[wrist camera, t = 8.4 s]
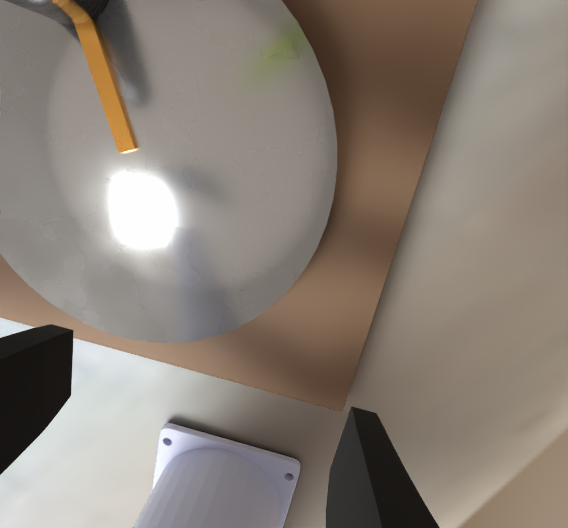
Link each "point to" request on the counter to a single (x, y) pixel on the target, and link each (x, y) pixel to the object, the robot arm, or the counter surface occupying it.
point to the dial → (161, 160)
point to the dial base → (344, 211)
